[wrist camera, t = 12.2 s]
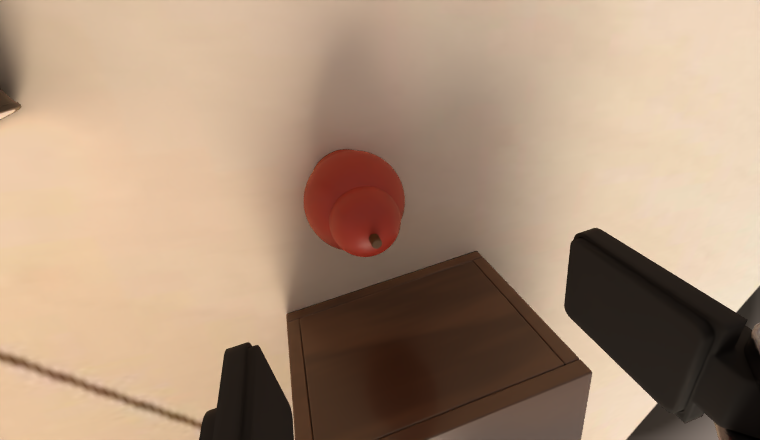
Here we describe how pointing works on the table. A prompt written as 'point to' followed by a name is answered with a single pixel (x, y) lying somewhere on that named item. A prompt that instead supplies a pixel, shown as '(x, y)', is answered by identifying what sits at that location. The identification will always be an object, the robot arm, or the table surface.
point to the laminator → (7, 105)
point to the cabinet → (433, 362)
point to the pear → (355, 202)
